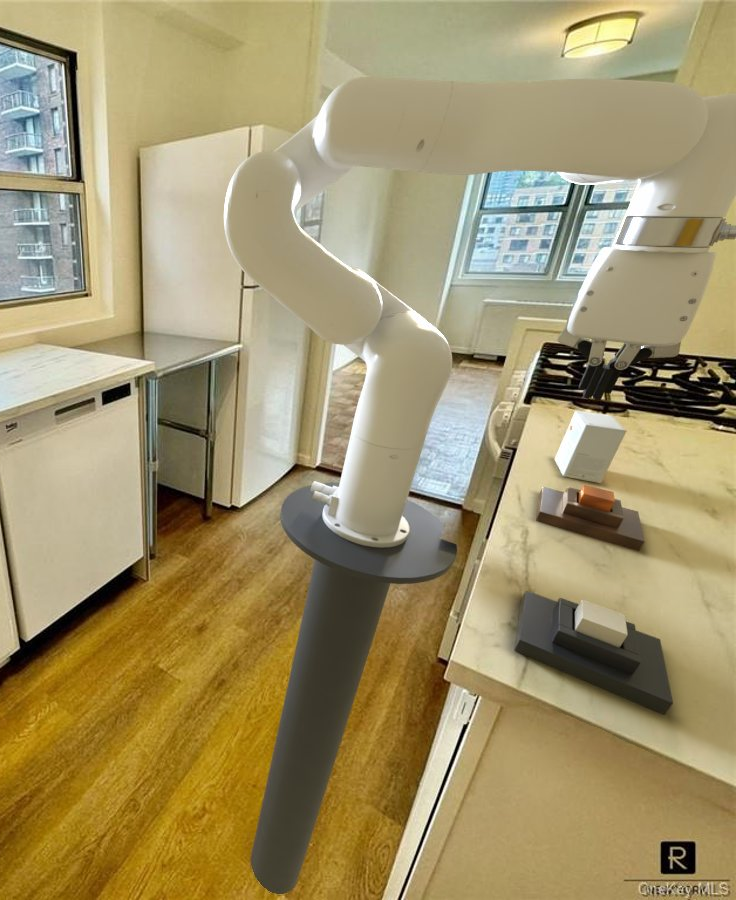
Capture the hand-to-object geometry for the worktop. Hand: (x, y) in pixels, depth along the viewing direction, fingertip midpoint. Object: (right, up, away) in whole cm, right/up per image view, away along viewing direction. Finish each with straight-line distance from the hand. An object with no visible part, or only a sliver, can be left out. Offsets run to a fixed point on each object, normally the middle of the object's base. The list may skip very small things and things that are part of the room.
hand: (591, 396), depth 60 cm
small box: (+26, -11, +31) cm, 42 cm away
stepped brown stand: (+14, -18, +16) cm, 28 cm away
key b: (+14, -15, +15) cm, 25 cm away
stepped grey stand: (-7, -29, -7) cm, 31 cm away
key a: (-7, -26, -8) cm, 28 cm away
